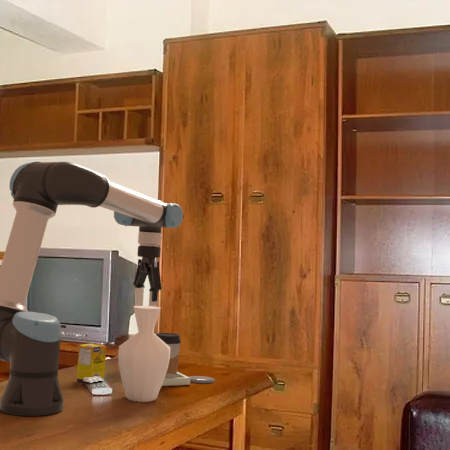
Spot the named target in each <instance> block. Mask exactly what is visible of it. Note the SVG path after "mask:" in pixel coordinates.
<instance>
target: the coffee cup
mask: <svg viewBox="0 0 450 450" xmlns="http://www.w3.org/2000/svg"><path fill="white" fill-rule="evenodd" d="M155 334H156V336H158V337H159V338H160V339H161V340H162V341H163V342H165V343H166V344H167V345H168V346H169V347H170V360H169V365H168V369H167V372H166V375H165V378H176V374H177V372H178V366H179V359H180V357H179V356H180V347H181V343H182V342H181V340H182V339H181V337H180V334H179V333H172V332H171V333H170V332H157V333H155ZM169 386H171V385H169Z"/></svg>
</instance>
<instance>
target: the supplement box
mask: <svg viewBox="0 0 450 450" xmlns="http://www.w3.org/2000/svg"><path fill="white" fill-rule="evenodd" d="M77 354H78V357H77V373H76V375H77V376H76V381H77V382H80V383H81V382H82V383H84V382H83V378H84V377H94V376H101V377H102V378H103V379H104V380H105V374H106V373H105V372H106V359H107V358H106V357H107V356H106V354H107V345H103V344H98V343H83V344H79V345H78V353H77Z"/></svg>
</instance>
